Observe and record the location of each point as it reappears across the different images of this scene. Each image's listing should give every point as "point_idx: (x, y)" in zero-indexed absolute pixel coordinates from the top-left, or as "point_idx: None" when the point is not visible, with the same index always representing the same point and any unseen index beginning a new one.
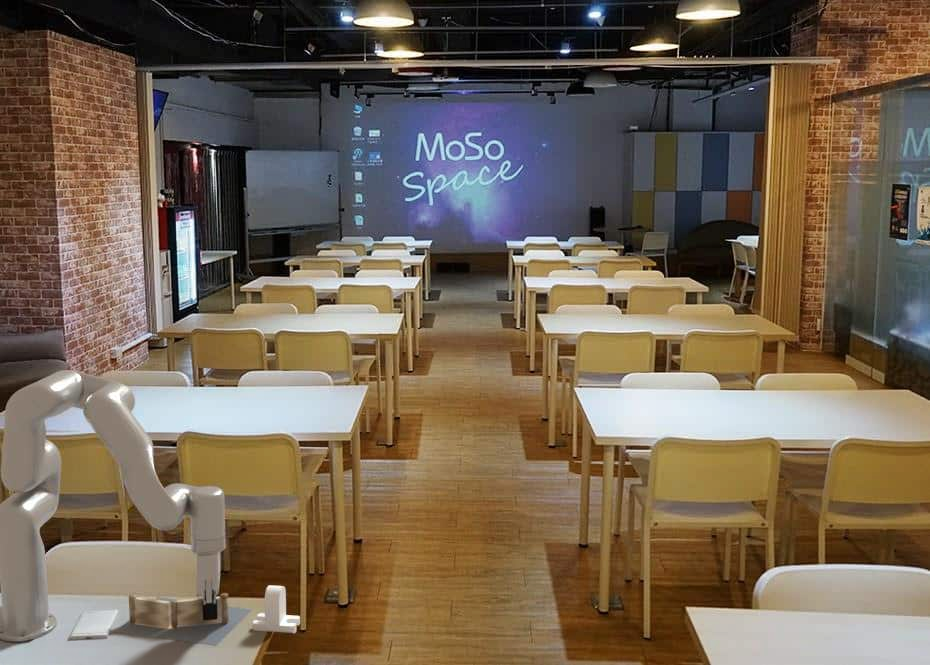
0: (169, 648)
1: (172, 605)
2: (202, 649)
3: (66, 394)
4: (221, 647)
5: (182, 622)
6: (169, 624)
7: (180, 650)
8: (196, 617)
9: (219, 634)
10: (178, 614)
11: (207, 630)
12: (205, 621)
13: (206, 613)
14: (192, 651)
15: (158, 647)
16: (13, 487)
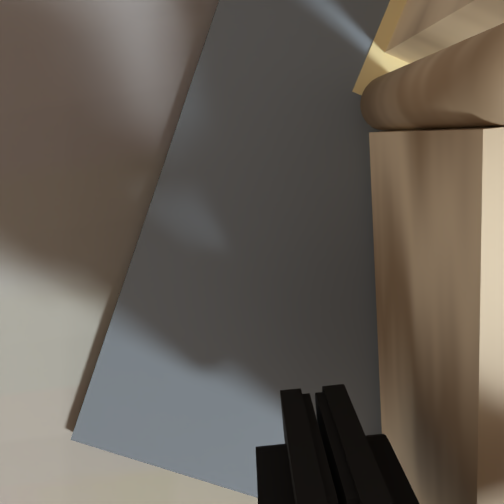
0: (52, 115)
1: (451, 66)
2: (38, 354)
3: None
4: (66, 464)
5: (380, 176)
6: (405, 54)
7: (21, 205)
8: (396, 304)
9: (227, 442)
10: (409, 145)
11: (298, 359)
12: (385, 353)
13: (258, 472)
14: (8, 293)
15: (69, 18)
16: None
